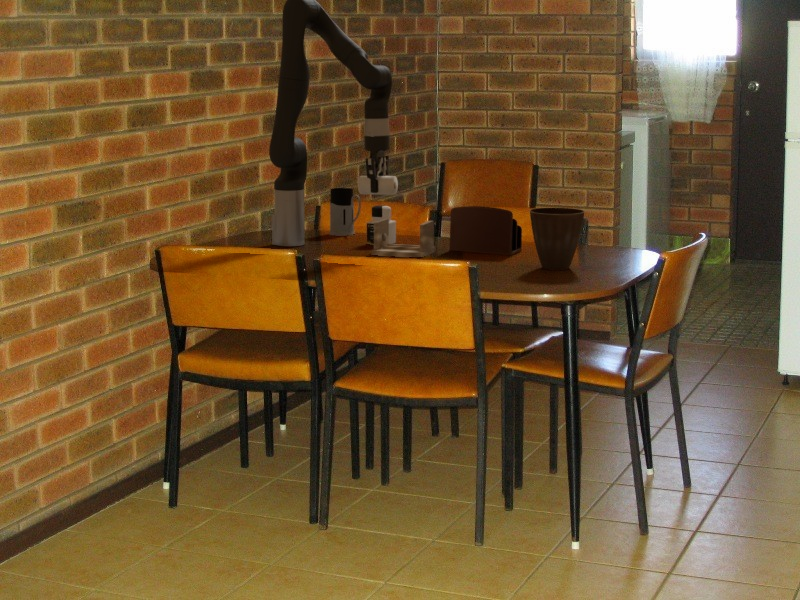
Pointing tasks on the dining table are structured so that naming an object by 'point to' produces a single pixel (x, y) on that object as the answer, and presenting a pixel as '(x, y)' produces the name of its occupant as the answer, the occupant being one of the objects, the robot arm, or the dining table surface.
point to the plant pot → (556, 235)
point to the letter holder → (484, 231)
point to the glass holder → (342, 212)
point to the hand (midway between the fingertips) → (378, 191)
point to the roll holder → (402, 250)
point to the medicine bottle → (377, 215)
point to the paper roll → (379, 185)
